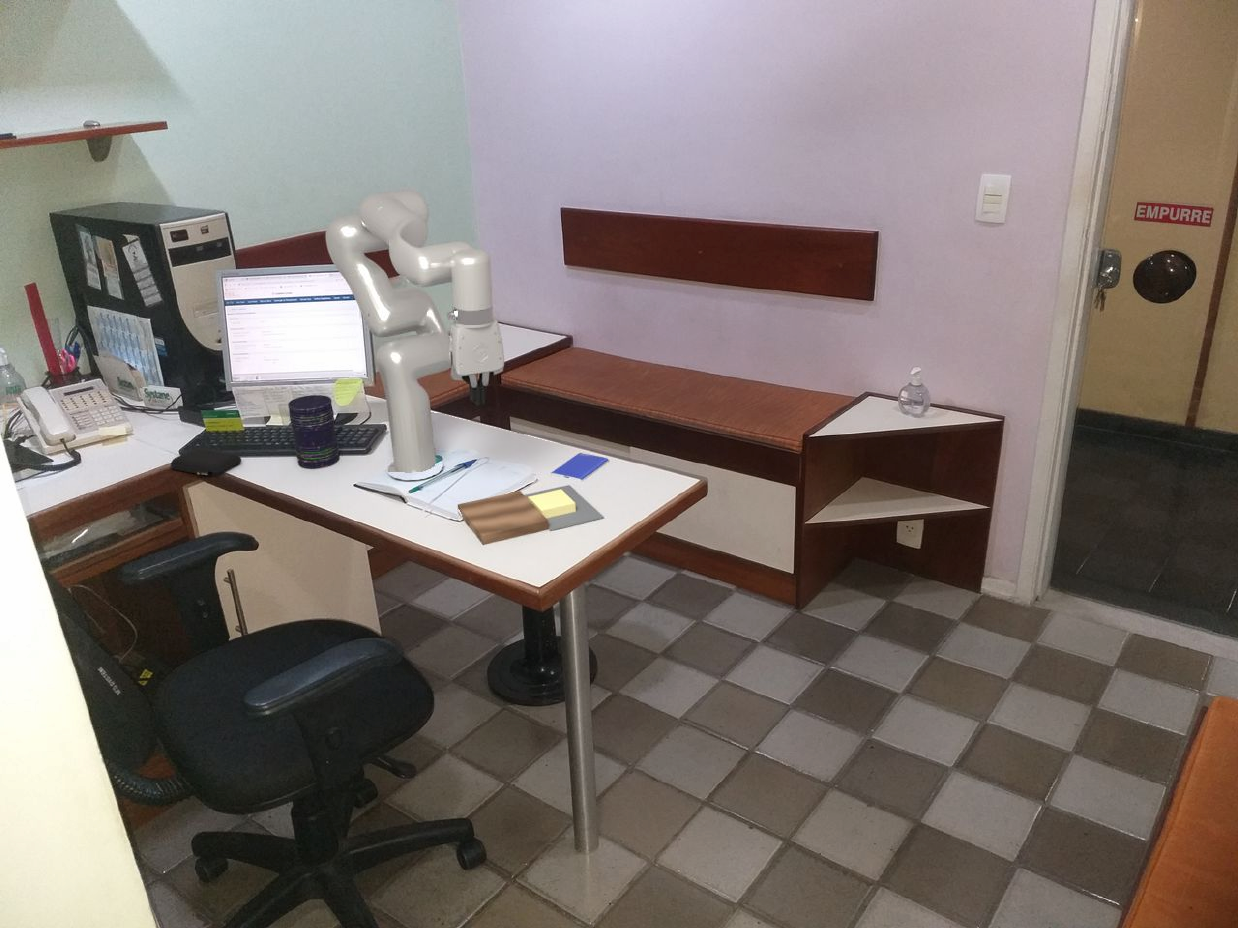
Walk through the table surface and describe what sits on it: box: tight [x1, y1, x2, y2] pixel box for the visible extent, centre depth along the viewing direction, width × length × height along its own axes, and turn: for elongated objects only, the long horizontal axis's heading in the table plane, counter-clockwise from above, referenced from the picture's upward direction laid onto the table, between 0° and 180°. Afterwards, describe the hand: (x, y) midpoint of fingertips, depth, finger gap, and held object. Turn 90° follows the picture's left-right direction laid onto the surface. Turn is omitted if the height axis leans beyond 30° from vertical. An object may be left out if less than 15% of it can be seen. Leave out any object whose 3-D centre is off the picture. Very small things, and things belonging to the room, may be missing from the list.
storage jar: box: [287, 394, 341, 470], centre depth 228 cm, size 10×10×15 cm
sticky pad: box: [528, 490, 576, 518], centre depth 204 cm, size 8×8×2 cm
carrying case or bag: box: [170, 447, 242, 477], centre depth 229 cm, size 11×3×15 cm
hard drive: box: [550, 452, 610, 483], centre depth 224 cm, size 2×8×12 cm
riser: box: [457, 490, 549, 545], centre depth 200 cm, size 16×14×2 cm
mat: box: [524, 484, 605, 532], centre depth 206 cm, size 18×12×1 cm, turn 26°
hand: (478, 402), depth 196 cm, fingers closed
